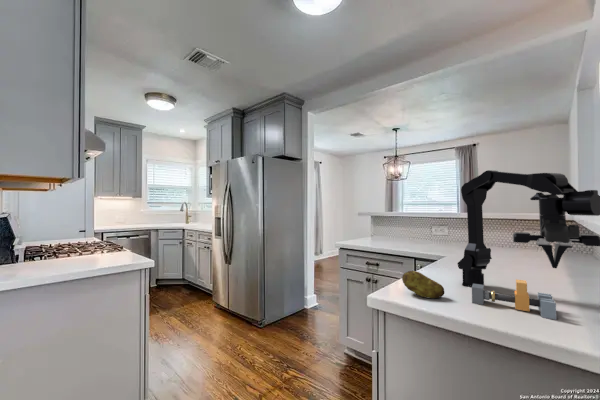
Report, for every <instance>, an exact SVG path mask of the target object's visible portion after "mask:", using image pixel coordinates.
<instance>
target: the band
mask: <svg viewBox="0 0 600 400" xmlns="http://www.w3.org/2000/svg"><path fill="white" fill-rule="evenodd" d="M495 293H496V292H495V290H491V299H490V300H491V302H493V303H496V300H495Z"/></svg>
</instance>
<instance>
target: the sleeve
mask: <svg viewBox="0 0 600 400" xmlns="http://www.w3.org/2000/svg"><path fill="white" fill-rule="evenodd" d="M514 296H515V303H514V309H515V310H519V311H524V312H530V311H531V310H530V305H529V298H530V294H529V292H528V282H527V280H525V279H517V278H515V290H514Z"/></svg>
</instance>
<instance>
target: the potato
mask: <svg viewBox="0 0 600 400" xmlns="http://www.w3.org/2000/svg"><path fill="white" fill-rule="evenodd" d="M401 279H402V282H403V284H404V286H405V287H406V289H407V290H409V291H411V292H413V293H414V294H416V295H417V296H419V297H422V298H426V299H439V298H441V297H443V296H444V295H445V288H444V287H443V285H442V284H440V283H439V282H437V281H435V280H433V279H432V278H430V277H428V276H426V275H424V274H423V273H421V272H419V271H415V270H409V271H406V272H405V273H404V272H403V275H402V276H401Z"/></svg>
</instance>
